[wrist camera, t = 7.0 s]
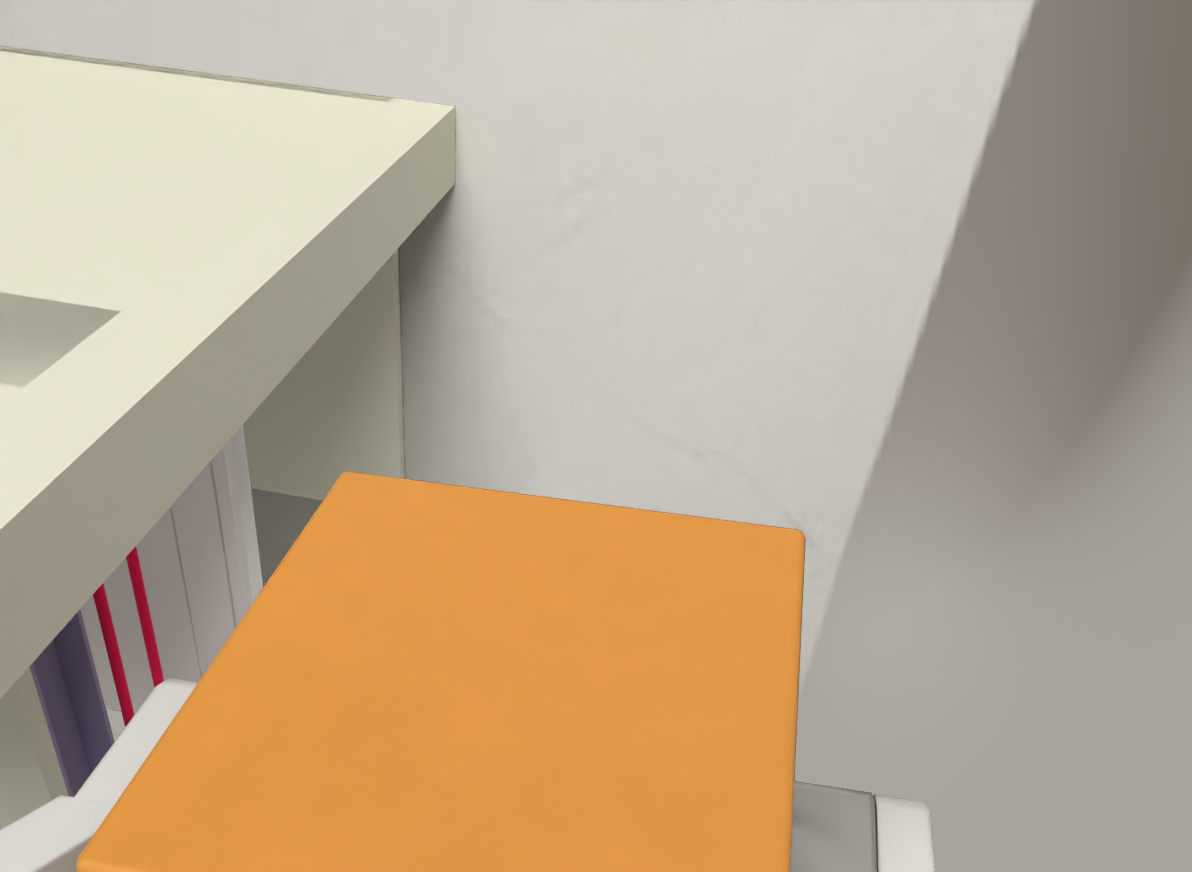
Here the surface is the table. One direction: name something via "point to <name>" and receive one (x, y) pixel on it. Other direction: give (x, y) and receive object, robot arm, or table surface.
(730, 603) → the block
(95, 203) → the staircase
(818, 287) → the table surface
